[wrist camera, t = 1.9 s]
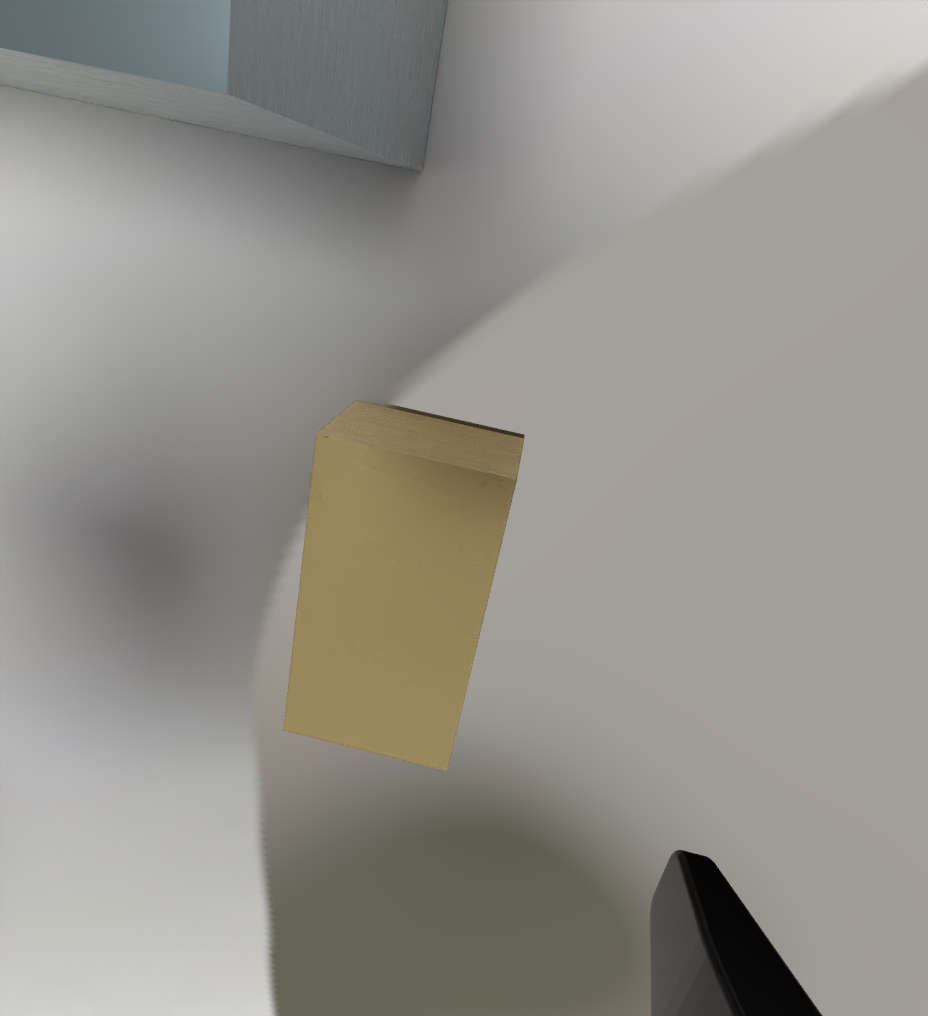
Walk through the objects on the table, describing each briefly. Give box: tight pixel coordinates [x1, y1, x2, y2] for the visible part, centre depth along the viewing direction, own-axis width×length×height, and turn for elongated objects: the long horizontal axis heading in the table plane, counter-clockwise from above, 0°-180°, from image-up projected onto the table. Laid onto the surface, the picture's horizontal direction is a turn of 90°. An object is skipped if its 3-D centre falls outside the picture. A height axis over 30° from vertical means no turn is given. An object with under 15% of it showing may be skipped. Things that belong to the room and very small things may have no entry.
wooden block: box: [284, 400, 525, 771], centre depth 13 cm, size 6×3×2 cm, turn 169°
